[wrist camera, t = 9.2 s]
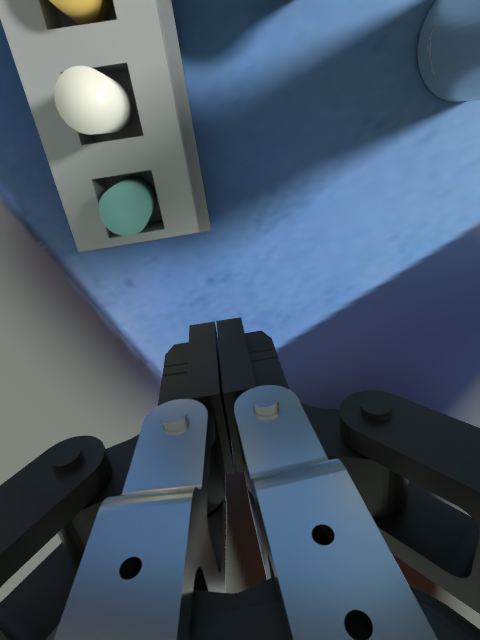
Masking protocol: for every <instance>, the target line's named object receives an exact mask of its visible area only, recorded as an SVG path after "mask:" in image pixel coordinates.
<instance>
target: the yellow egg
mask: <svg viewBox="0 0 480 640" xmlns="http://www.w3.org/2000/svg"><path fill="white" fill-rule="evenodd" d="M49 1H50V2H51V3H52V4H53V5H55V6H56V7H57V8H58V9H59V10H60V11H62V12H63V13H64V14H65V15H66V16H67V17H68V18H70V19H71V20H72V21H73V22H75V23H76V24H78V25H84V24H90V23H97V22H103V21H104V20H105V19H106V17H107V15H108V13H109V10H110V2H111V0H49Z"/></svg>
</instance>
